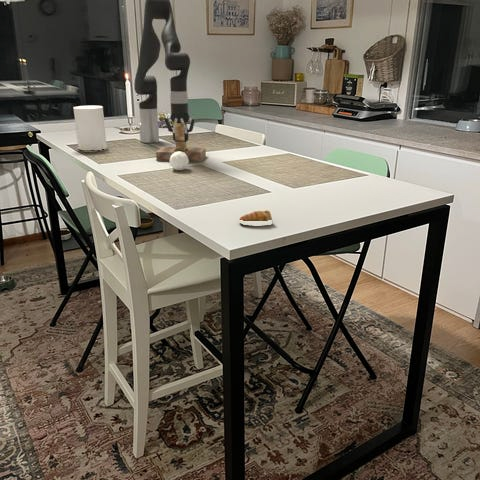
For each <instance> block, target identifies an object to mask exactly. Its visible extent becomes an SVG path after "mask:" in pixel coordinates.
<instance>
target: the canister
mask: <svg viewBox="0 0 480 480" xmlns="http://www.w3.org/2000/svg"><path fill="white" fill-rule="evenodd" d="M73 113H74V114H73V115H74V122H75V123H74V124H75V132H76V141H77V148H78V149H77V150H79V149H81V150H100V151H103V150H102V149H104V150H106V148H107V147H108V145H107V137H106V126H105V117H104V116H105V115H104V106H102V105H79V106H73ZM107 149H108V148H107Z"/></svg>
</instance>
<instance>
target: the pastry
mask: <svg viewBox="0 0 480 480" xmlns="http://www.w3.org/2000/svg"><path fill="white" fill-rule="evenodd" d="M239 220H243V221H268V220H272V221H273V218H272V213H271V212H270V210H267V209H266V210H263V211H262V210H257V211H253V212H251V213H246V214H245V215H242V216H241V217H240V218H239Z"/></svg>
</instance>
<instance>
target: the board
mask: <svg viewBox="0 0 480 480" xmlns="http://www.w3.org/2000/svg"><path fill="white" fill-rule="evenodd" d="M186 147H187V146H186ZM206 149H207V148H206V147H192V146H191V147H190V146H189V147H187V149H186V150H185V151H180V152H184V153H185V154H186V155H187V157H188V160H189V162H188V163H201V162H203V160H204V159H205V158H206V157H207V156H206V155H207V153H206V152H207V151H206ZM175 152H178V151H176V146H162V147H161V148H159V149H158V150H156V151H155V158H156V159H155V161H157V162H170V157H171V155H172V154H173V153H175Z"/></svg>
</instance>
